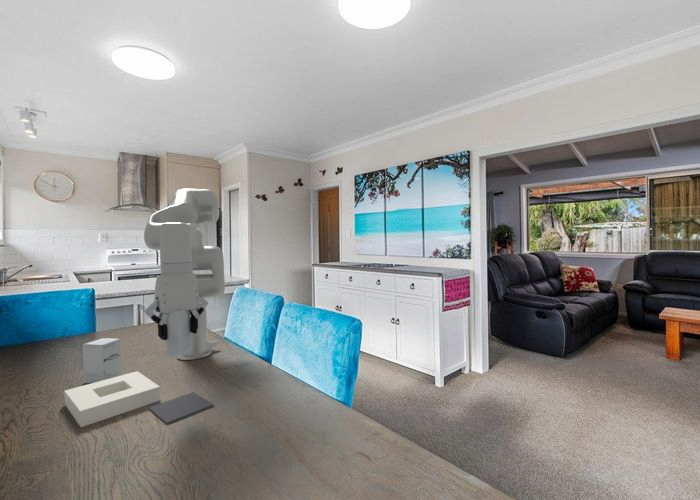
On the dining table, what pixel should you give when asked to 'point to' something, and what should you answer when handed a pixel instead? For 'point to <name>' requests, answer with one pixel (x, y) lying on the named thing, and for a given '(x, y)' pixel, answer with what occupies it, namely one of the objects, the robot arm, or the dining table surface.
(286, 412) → the dining table surface
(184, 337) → the skincare box
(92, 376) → the supplement box
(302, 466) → the dining table surface
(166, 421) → the rubber mat
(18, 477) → the dining table surface
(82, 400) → the bore holder
